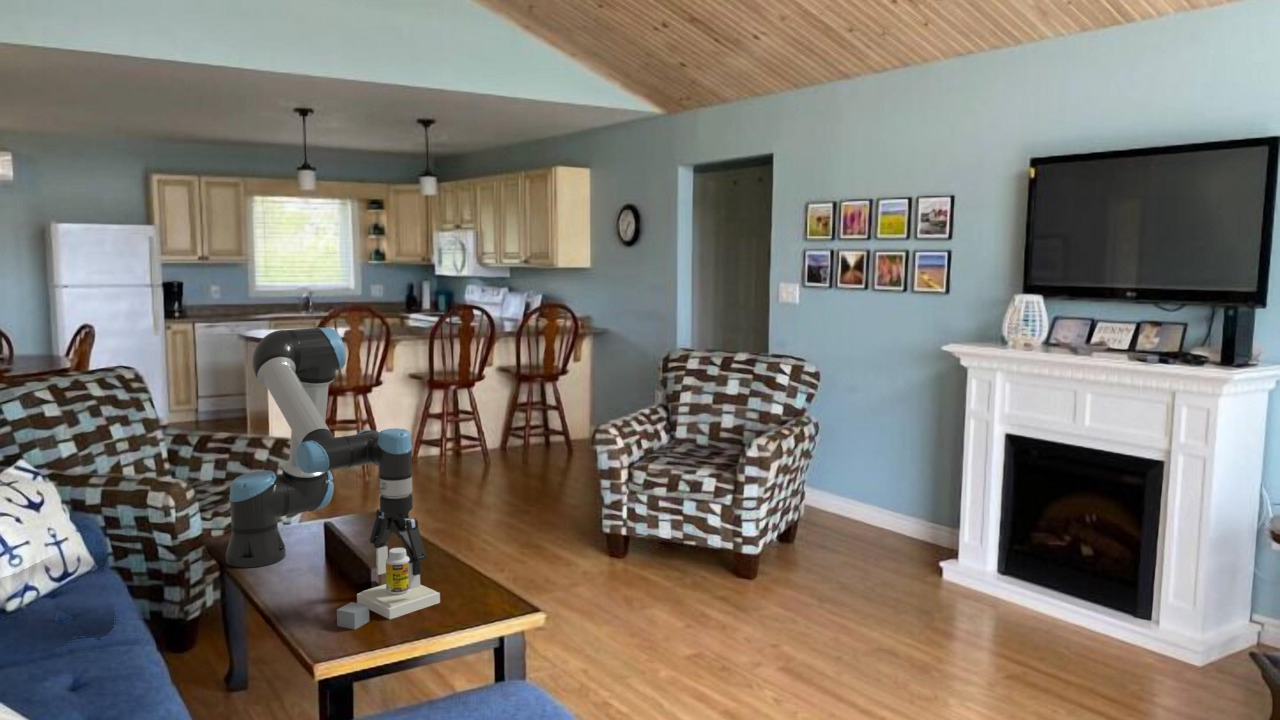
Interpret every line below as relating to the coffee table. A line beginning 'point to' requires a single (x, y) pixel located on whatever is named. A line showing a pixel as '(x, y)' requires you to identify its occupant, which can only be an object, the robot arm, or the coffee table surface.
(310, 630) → the coffee table surface
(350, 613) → the grey matte cube
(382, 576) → the walnut block
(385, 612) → the podium
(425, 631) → the coffee table surface
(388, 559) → the supplement bottle
